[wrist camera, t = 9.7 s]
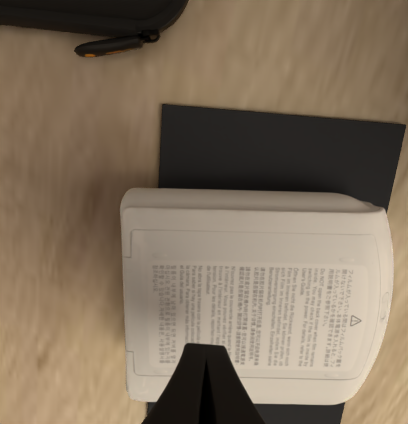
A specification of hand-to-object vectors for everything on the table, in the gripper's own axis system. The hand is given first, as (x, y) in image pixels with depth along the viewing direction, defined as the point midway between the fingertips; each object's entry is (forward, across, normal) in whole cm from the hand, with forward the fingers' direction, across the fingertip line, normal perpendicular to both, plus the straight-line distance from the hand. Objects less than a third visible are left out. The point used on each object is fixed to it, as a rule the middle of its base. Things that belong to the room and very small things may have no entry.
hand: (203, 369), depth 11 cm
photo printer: (+5, +4, 0) cm, 6 cm away
